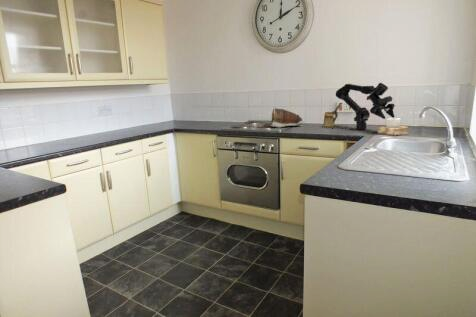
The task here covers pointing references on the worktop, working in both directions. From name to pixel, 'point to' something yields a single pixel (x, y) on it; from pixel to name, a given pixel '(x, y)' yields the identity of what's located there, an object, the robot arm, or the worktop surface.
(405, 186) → the worktop surface
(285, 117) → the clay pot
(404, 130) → the pine crate
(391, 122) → the white crate
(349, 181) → the worktop surface
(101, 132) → the worktop surface
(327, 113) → the wooden mug
